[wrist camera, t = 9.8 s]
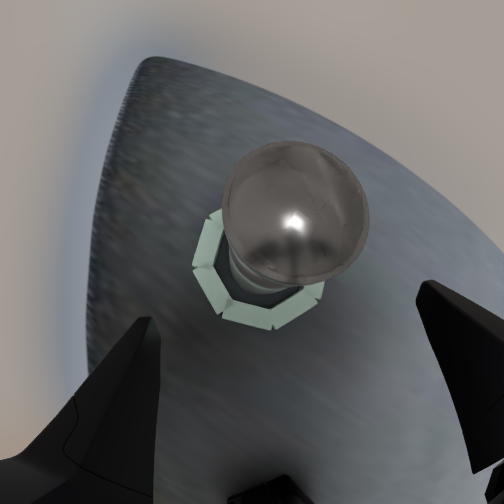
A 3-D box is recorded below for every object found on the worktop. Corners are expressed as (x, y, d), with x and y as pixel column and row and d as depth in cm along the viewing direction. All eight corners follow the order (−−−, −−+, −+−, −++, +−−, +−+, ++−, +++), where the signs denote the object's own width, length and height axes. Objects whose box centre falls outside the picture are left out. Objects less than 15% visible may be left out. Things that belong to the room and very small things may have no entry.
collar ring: (342, 283, 22) (349, 281, 21) (238, 348, 21) (239, 351, 19) (280, 184, 24) (283, 176, 22) (177, 239, 22) (173, 234, 21)
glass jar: (306, 275, 22) (393, 234, 10) (250, 310, 21) (276, 316, 9) (271, 219, 23) (314, 123, 10) (214, 252, 22) (193, 179, 9)
